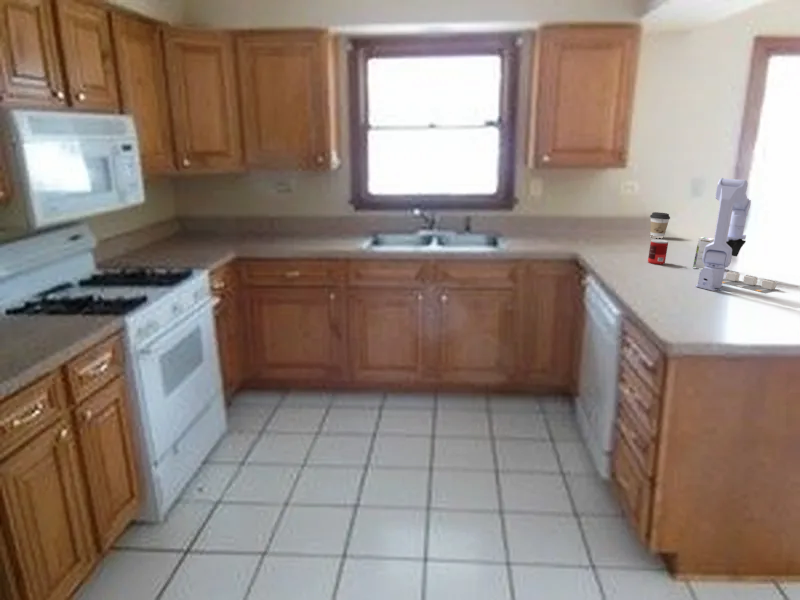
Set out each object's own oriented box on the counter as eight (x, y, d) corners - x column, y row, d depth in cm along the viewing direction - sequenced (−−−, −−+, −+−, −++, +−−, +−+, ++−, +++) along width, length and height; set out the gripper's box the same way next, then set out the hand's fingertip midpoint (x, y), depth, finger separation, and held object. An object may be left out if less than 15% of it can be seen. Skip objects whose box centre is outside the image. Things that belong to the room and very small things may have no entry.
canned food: (667, 263, 297) (670, 240, 294) (660, 265, 291) (664, 242, 288) (651, 260, 302) (654, 238, 299) (645, 262, 296) (648, 240, 293)
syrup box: (695, 266, 292) (701, 236, 289) (709, 268, 289) (714, 238, 285) (692, 268, 288) (698, 237, 284) (706, 270, 285) (711, 239, 281)
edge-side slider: (771, 289, 247) (773, 281, 246) (761, 287, 251) (762, 279, 250) (775, 288, 249) (776, 280, 248) (765, 286, 252) (766, 278, 251)
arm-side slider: (734, 281, 259) (736, 273, 258) (725, 279, 263) (727, 271, 262) (738, 280, 261) (740, 272, 260) (729, 278, 264) (730, 270, 263)
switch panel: (764, 295, 243) (765, 293, 242) (711, 283, 260) (712, 280, 260) (780, 292, 249) (780, 289, 249) (727, 280, 267) (727, 277, 266)
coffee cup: (648, 239, 365) (652, 214, 361) (644, 236, 376) (648, 211, 372) (669, 240, 363) (673, 215, 359) (664, 237, 374) (668, 212, 370)
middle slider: (752, 285, 253) (754, 277, 252) (743, 283, 257) (744, 275, 256) (756, 284, 255) (758, 276, 254) (746, 282, 258) (748, 274, 257)
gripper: (737, 228, 259) (731, 259, 263) (755, 226, 267) (748, 256, 271) (720, 225, 265) (715, 256, 269) (739, 223, 273) (733, 253, 276)
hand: (731, 256), depth 270 cm, fingers open, 5 cm apart
